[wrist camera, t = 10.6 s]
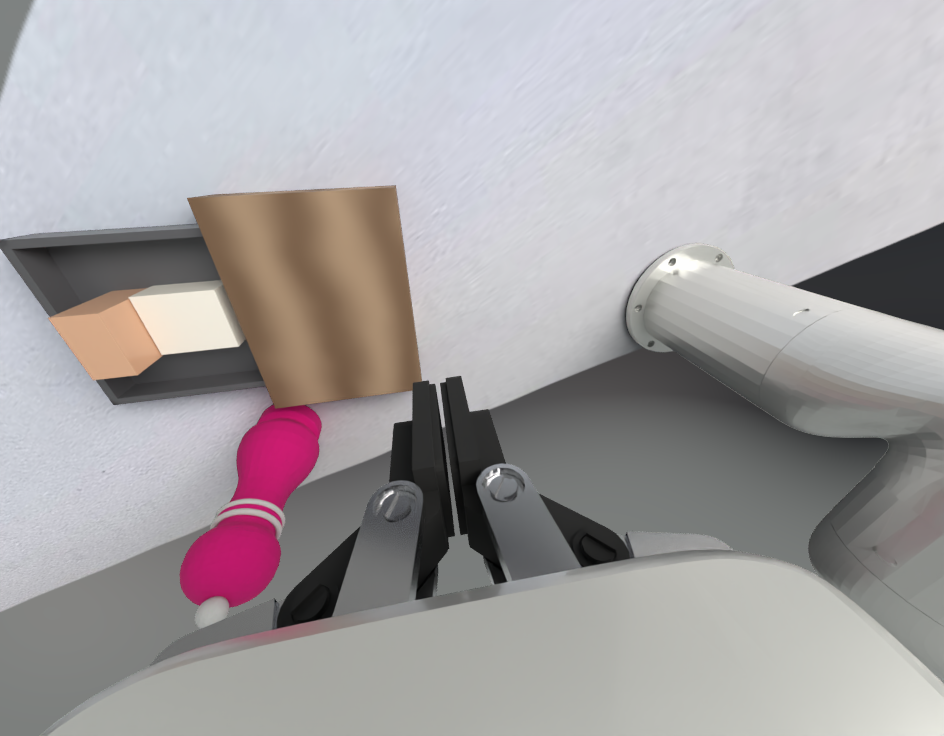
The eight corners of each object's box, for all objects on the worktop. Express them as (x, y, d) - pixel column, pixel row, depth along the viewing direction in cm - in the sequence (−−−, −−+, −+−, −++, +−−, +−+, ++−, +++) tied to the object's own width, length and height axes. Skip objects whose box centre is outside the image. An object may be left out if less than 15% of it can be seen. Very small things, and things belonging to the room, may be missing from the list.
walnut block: (395, 185, 28) (395, 187, 25) (420, 369, 38) (422, 388, 34) (214, 194, 26) (186, 198, 23) (287, 385, 36) (275, 408, 32)
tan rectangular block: (98, 313, 23) (47, 318, 23) (137, 375, 26) (93, 380, 25) (152, 287, 28) (111, 290, 28) (180, 341, 31) (144, 345, 30)
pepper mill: (325, 398, 37) (263, 589, 20) (327, 447, 41) (276, 647, 24) (251, 396, 36) (115, 603, 19) (260, 448, 39) (152, 663, 22)
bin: (220, 222, 27) (202, 227, 25) (277, 369, 35) (268, 385, 32) (34, 233, 26) (-6, 240, 23) (135, 386, 33) (113, 405, 30)
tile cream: (230, 279, 29) (214, 289, 27) (251, 332, 32) (239, 346, 29) (152, 285, 28) (128, 297, 26) (181, 339, 31) (161, 354, 28)
